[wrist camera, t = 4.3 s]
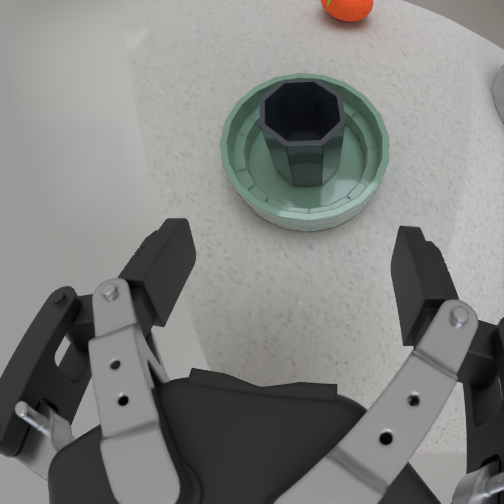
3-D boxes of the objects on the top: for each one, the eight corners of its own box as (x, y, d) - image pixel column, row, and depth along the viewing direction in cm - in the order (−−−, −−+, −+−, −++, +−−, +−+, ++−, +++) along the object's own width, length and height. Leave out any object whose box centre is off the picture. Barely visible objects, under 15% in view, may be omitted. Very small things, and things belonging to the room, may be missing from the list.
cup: (308, 200, 27) (305, 162, 18) (262, 160, 28) (242, 113, 20) (350, 157, 26) (361, 108, 18) (303, 121, 28) (297, 67, 20)
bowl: (310, 264, 27) (309, 259, 22) (207, 167, 30) (189, 146, 25) (405, 161, 26) (419, 138, 21) (300, 82, 29) (296, 53, 24)
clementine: (351, 41, 29) (353, 0, 22) (306, 21, 30) (302, -18, 23) (379, 17, 28) (384, -20, 21) (337, -1, 30) (336, -36, 23)
